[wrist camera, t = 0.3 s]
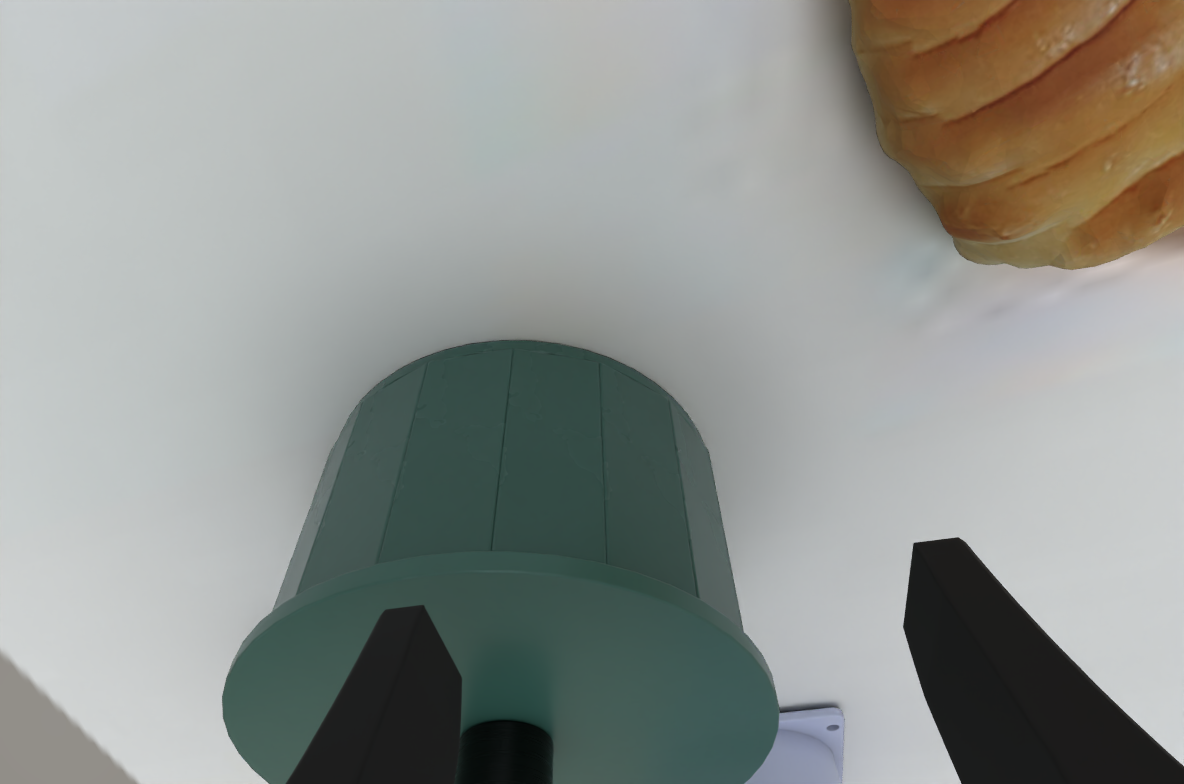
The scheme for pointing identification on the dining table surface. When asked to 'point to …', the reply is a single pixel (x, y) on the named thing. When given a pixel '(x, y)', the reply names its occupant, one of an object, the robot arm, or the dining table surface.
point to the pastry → (1033, 120)
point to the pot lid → (524, 671)
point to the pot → (519, 471)
